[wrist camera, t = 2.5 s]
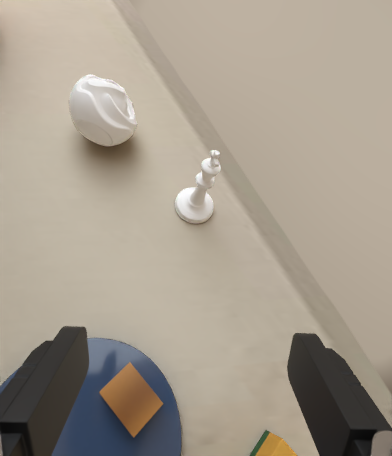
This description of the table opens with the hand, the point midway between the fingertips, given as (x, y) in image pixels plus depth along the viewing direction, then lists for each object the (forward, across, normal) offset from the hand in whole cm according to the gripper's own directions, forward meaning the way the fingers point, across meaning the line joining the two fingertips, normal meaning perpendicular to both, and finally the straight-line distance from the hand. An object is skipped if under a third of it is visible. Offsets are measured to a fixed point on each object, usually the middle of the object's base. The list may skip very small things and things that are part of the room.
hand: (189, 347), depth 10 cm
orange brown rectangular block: (+9, +4, +13) cm, 17 cm away
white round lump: (+29, +12, -7) cm, 32 cm away
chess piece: (+24, 0, +1) cm, 25 cm away
